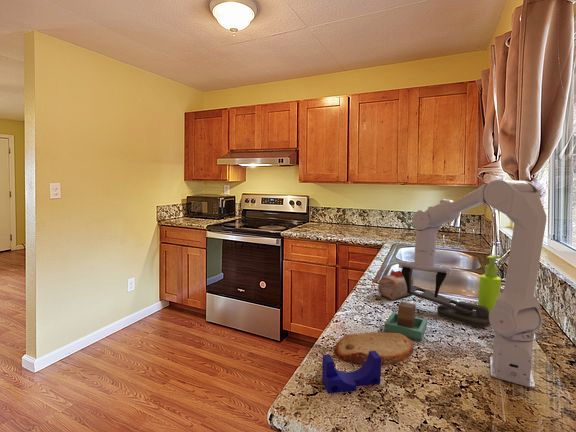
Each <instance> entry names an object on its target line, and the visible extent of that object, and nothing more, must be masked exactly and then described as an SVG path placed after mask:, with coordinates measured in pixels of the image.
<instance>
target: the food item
mask: <svg viewBox="0 0 576 432" xmlns="http://www.w3.org/2000/svg"><path fill="white" fill-rule="evenodd" d="M411 286H414V276H413V275H412V279H411ZM377 287H378V289H377V291H378V294H380V295H381V296H383V297H384V298H386V297H387V298H386V299H388V298H389V300H391V301H395V300H398V299H401V298H403V297H408V296H412V295H411V294H408V293H407V285H406V282H405V279H404V276H403V274H402V272H401V271H400V270H397V271H395V270H393V269H391V272H390V275H384V276H382V277H381V279H379V280H378V286H377Z"/></svg>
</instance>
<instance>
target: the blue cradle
mask: <svg viewBox="0 0 576 432" xmlns="http://www.w3.org/2000/svg"><path fill="white" fill-rule="evenodd" d="M381 359H382V358H381V357H380V356H379V354H378V353H377V352H376V351H369V354H368V358H367V360H366V362H365V363H364V364H363V365H361V366H360V367H359V368H357V369H356V370H353V371H349V372H348V371H347V372H346V371H341V370H339V369H337V368H336V367H335V362H334V360H333V358H332V356H331V354H327V353H326V354H322V365H321V366H322V367H321V369H322V370H321V371H322V373H321V382H322V384H323V387H324V388H325V390H326V392H327V394H329V395H330V394H339V393H347V392H348V393H349V392H356V391H357V387H362V386H363V387H364V386H373V385H374V386H375V385H381V380H382V379H381V378H382V375H381V374H382V365H381Z"/></svg>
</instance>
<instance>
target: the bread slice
mask: <svg viewBox="0 0 576 432" xmlns="http://www.w3.org/2000/svg"><path fill="white" fill-rule="evenodd" d="M335 345H336V346H335V353H334V354H335V357H337V358H338V359H340V360H341V361H343V362H345V363H353V364H357V365H360V366H363V364H364V363H365V362H366V360H367V358H368V354H369V351H376V352H377V353H378V354H379V356H380V357H381V358H382V359H381V366H389V365H394V364H395V363H398V362H399V363H400V362H403V361H405V360H408V359H409V358H410V357H411V356H412V355H413V353H414V350H415V349H414V346H413V345H414V344H413V343H412V340H411V338H407V337H406V336H404V335H402V334H400V333H388V332H384V331H382V332H379V331H378V332H363V333H350V334H347V335H345V336H343V337H342V338H340V340H339V341H338V342H337V343H336V344H335Z"/></svg>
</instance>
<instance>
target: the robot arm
mask: <svg viewBox="0 0 576 432" xmlns="http://www.w3.org/2000/svg"><path fill="white" fill-rule="evenodd" d="M541 192H542V191H541V190H540V189H539V188H538V187H537V186H536V185H534V184H533V183H532V182H530V181H528V180H523V179H522V180H505V179H500V178H499V179H493V180H492V181H490V182H487V183H483V184H482V185H480V186H479V187H478V188H476V189H474V190H473V191H471V192H469V193H467V194H465V195H463V196H461V197H459V198H458V199H456V200H452V199H441V200H439V203H438V204H436V205H432V206H431V205H430V206H428V207H427V209H426V210H423V209H418V210H417V211H416V212H414V214H413V215H412V221H411V222H412V226H413V227H414V229H415V242H414V243H415V244H414V246H415V247H414V259H413V260H414V261H406V260H405V261H404V260H399V261H398V269H401V272H402V274H403V276H404V279H405V282H406V285H407V292H409V293H410V292H411V279H412V276H413V270H415V271H423V272H428V273H429V272H430V273H436V275H435V287H434V288H435V290H434V293H435V296H434V297H436V298H437V297H438V295H439V291H440V288H441V286H442V284H443V282H444V280H445V279H446V277H447V276H451V274H452V267H449V266H445V265H440V264H436V263H435V262H436V249H437V246H436V245H437V236H438V234H439V229H440V228H441V227H442V225H444V224H447V223H450V222H452V221H455V220H457V219H458V218H459V217H460V215H461V213H462V212H465V211H468V210H470V209H474V208H476V207H478V206H481V205H484V204H487V205H488V206H489V207H491V208H493V209H494V210H497V211H499V212H501V213H502V214H504V215H505V216H506V217H507V218H508V219H509V220H510V221H511V222H512V223H513V229H512V237H511V243H510V248H509V255H508V260H507V269H506V275H505V282H504V288H503V291H502V292H501V293H500V296H499V297H498V298H497V299H496V301H495V306H494V308H493V309H492V310H491V311H490V314H489V322H490V324H489V325H490V326H491V328H492V329H493V332H494V340H493V348H492V349H493V352H492V356H490V357H489V372H490V376H491V377H492V378H494V379H498V380H502V381H506V382H510V383H512V384H515V385H516V384H517V385H520V386H523V387H528V388H531V389H535V388H536V384H535V380H534V376H533V371H532V364H533V363H532V361H533V360H532V359H533V348H534V339H535V332H536V330H539V328H540V327H541V326H542V324H543V317H542V314H541V309H540V308H541V302H540V301H539V300H538V299H537V298H536V296H534V295H535V291H536V284H537V279H538V272H539V266H540V260H541V256H542V255H541V254H542V249H543V243H544V238H545V233H546V232H545V231H546V225H547V214H546V211H545V208H544V205H543V204H542V201H541V199H540V197H541Z"/></svg>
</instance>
